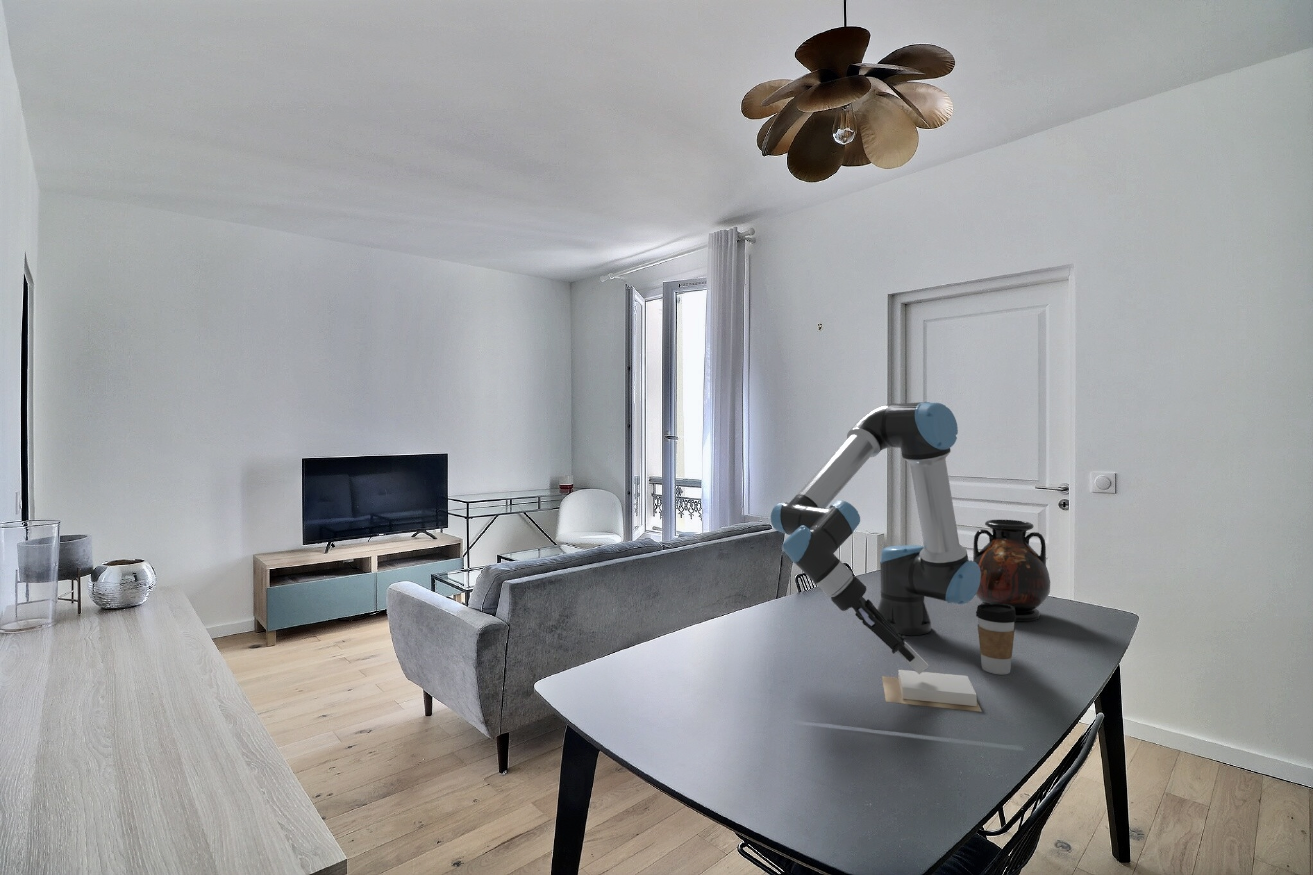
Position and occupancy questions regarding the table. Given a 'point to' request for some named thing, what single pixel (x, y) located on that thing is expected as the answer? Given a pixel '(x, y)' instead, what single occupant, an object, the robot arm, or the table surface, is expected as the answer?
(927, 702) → the mat
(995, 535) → the amphora vase
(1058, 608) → the table surface
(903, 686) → the tile
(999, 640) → the coffee cup
